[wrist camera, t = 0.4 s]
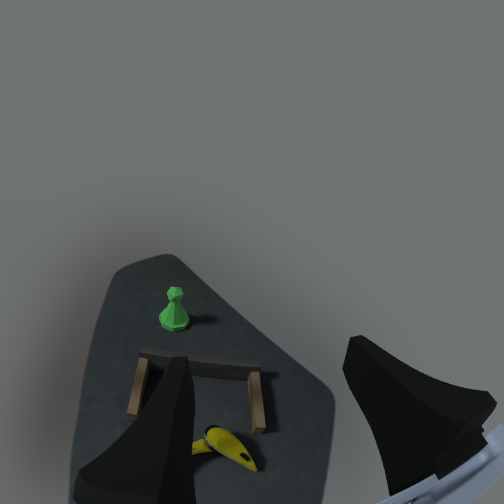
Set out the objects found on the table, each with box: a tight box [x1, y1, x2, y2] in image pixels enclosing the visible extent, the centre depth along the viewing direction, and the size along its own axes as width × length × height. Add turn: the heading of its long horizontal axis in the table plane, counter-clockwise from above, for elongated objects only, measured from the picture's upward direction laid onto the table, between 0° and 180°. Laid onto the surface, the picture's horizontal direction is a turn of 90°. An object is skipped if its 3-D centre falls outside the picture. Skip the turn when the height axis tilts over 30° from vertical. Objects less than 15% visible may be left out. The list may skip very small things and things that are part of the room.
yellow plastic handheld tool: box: [192, 425, 257, 472], centre depth 20 cm, size 10×6×4 cm, turn 120°
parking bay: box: [127, 346, 266, 434], centre depth 27 cm, size 8×14×3 cm, turn 94°
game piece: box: [159, 287, 189, 332], centre depth 36 cm, size 4×4×6 cm
